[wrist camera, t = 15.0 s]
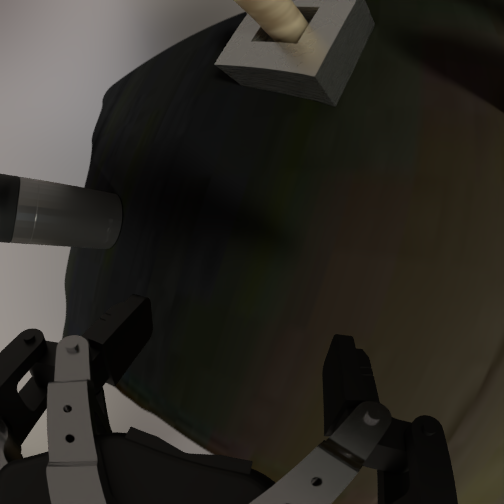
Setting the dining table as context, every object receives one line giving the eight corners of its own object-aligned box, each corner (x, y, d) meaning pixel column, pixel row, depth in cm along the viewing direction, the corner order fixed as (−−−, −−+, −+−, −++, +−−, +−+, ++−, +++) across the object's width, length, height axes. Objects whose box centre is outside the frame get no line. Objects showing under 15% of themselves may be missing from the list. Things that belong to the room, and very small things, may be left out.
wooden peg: (284, 63, 25) (214, -6, 15) (298, 38, 24) (236, -32, 14) (315, 68, 23) (248, -13, 13) (329, 42, 22) (271, -39, 12)
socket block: (242, 86, 28) (214, 64, 23) (284, 16, 25) (263, -8, 21) (335, 106, 22) (314, 76, 17) (374, 24, 19) (361, -8, 15)
